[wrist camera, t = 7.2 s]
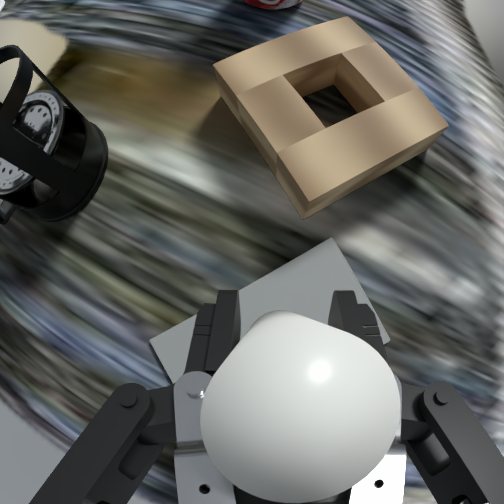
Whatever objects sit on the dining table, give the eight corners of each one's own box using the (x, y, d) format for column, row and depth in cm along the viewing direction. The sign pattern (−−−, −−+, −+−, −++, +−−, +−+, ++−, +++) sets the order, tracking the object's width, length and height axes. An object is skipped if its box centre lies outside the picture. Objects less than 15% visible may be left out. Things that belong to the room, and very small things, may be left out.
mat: (209, 437, 20) (208, 439, 19) (151, 339, 21) (149, 340, 21) (388, 339, 20) (390, 340, 20) (331, 238, 21) (332, 236, 21)
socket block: (303, 220, 22) (309, 201, 18) (220, 96, 24) (212, 64, 20) (427, 149, 22) (449, 125, 18) (340, 47, 24) (347, 16, 20)
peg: (267, 387, 16) (262, 526, 5) (234, 330, 17) (162, 384, 5) (325, 354, 17) (425, 441, 5) (293, 297, 17) (345, 285, 5)
